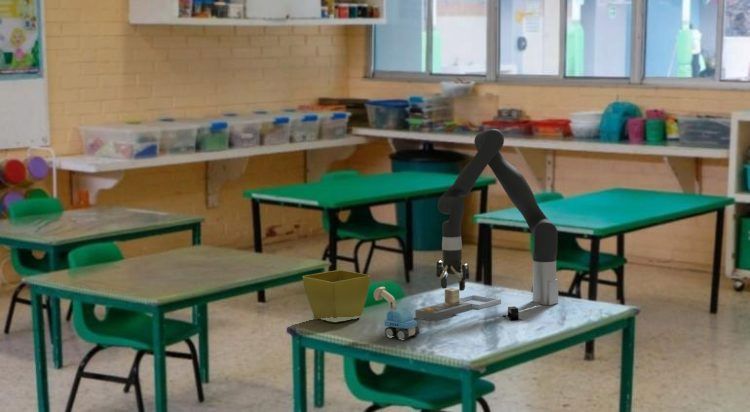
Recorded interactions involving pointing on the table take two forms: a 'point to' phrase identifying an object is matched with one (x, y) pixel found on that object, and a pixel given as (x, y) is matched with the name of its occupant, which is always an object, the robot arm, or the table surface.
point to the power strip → (441, 311)
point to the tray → (480, 301)
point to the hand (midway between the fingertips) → (453, 289)
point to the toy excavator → (397, 317)
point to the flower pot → (336, 293)
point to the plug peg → (452, 297)
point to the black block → (513, 314)
